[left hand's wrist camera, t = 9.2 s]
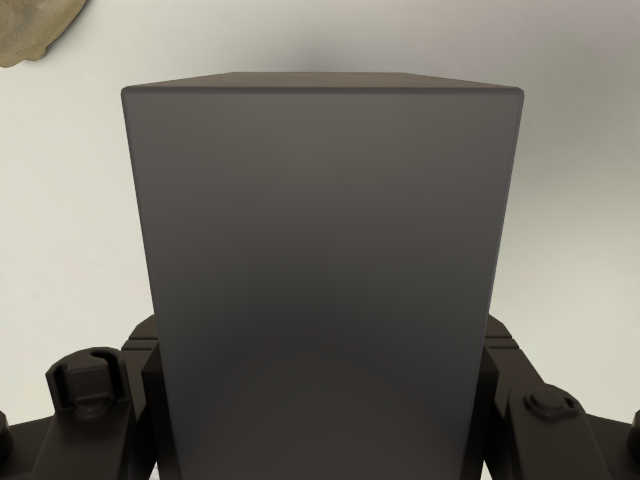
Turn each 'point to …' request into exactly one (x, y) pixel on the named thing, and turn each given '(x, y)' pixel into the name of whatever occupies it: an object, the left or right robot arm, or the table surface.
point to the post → (321, 266)
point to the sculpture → (32, 27)
